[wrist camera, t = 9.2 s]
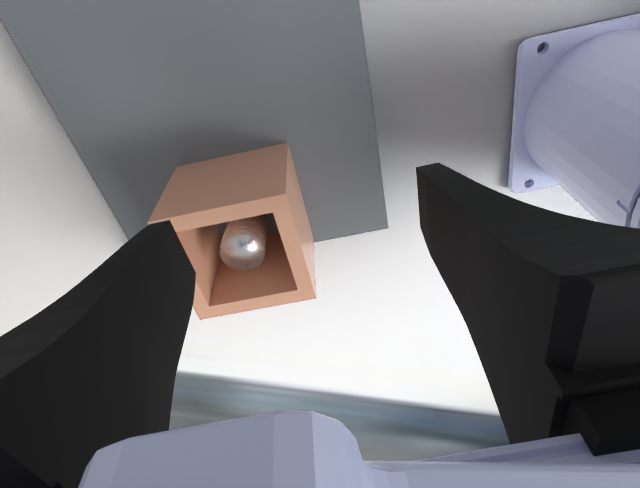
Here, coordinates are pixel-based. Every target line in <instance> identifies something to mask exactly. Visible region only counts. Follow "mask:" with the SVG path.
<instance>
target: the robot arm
mask: <svg viewBox="0 0 640 488" xmlns="http://www.w3.org/2000/svg"><path fill="white" fill-rule="evenodd" d="M543 42H545V47H544V49H543V50H542V51H541V52H539V53H537V49H538V46H539V45H540V44H541V43H543ZM416 172H417V186H418V200H419V213H420V227H421V230H422V233H423V236H424V239H425V242H426V244H427V247H428V250H429V252H430V255H431V257H432V259H433V261H434V263H435V265H436V267H437V268H438V270H439V272H440V274H441V276H442V278H443V280H444V282H445V284H446V285H447V287H448V289H449V291H450V293H451V295H452V297H453V299H454V300H455V302H456V304H457V306H458V308H459V310H460V312H461V314H462V316H463V318H464V320H465V322H466V324H467V327H468V329H469V332H470V334H471V337H472V340H473V342H474V345H475V347H476V350H477V352H478V355H479V357H480V360H481V363H482V366H483V368H484V371H485V374H486V376H487V379H488V382H489V384H490V387H491V390H492V393H493V396H494V398H495V401H496V404H497V407H498V410H499V413H500V415H501V418H502V421H503V424H504V427H505V430H506V433H507V436H508V439H509V442H510V445H505V446H499V447H493V448H487V449H481V450H475V451H469V452H463V453H457V454H451V455H445V456H439V457H433V458H427V459H421V460H415V461H363V459H362V457H361V454H360V450H359V447H358V443H357V440H356V438H355V437H354V436H353V435H352V433H351V432H350V431H349V430H348V429H347V428H346V427H345V425H344V424H343V423H342V422H340V421H338V420H337V419H334V418H331V417H328V416H325V415H322V414H319V413H316V412H312V411H309V410H308V411H275V412H270V413H264V414H258V415H253V416H247V417H242V418H236V419H230V420H225V421H219V422H214V423H208V424H202V425H197V426H191V427H186V428H180V429H174V430H169V422H170V412H171V404H172V396H173V389H174V381H175V376H176V371H177V366H178V362H179V358H180V354H181V350H182V347H183V343H184V339H185V335H186V331H187V327H188V323H189V319H190V315H191V311H192V306H193V302H194V293H195V281H196V272H195V270H194V268H193V266H192V264H191V262H190V260H189V258H188V256H187V254H186V252H185V250H184V248H183V246H182V244H181V242H180V240H179V238H178V236H177V234H176V232H175V230H174V228H173V226H172V224H171V222H170V220H167V221H162V222H157V223H153V224H149V225H148V226H146V227H145V228H143V229H142V230H141V231H139V232H138V233H137V234H136V235H135V236H133V237H132V238H131V239H130V240H129V241H128V242H126V243H125V244H124V245H123V246H122V247H121V248H120V249H119V250H117V251H116V252H115V253H114V254H113V255H112V256H111V257H109V258H108V259H107V260H106V261H105V262H104V263H103V264H101V265H100V266H99V267H98V268H97V269H96V270H94V271H93V272H92V273H91V274H89V275H88V276H87V277H86V278H85V279H83V280H82V281H81V282H80V283H79V284H77V285H76V286H75V287H74V288H72V289H71V290H70V291H69V292H67V293H66V294H65V295H63V296H62V297H61V298H59V299H58V300H56V301H55V302H54V303H52V304H51V305H49V306H48V307H46V308H45V309H44V310H42V311H41V312H39V313H38V314H36V315H35V316H33V317H32V318H30V319H28V320H27V321H25V322H24V323H22V324H20V325H19V326H17V327H15V328H14V329H12V330H10V331H9V332H7V333H5V334H4V335H2V336H1V337H0V488H640V13H638V14H633V15H629V16H625V17H620V18H616V19H611V20H607V21H602V22H598V23H593V24H589V25H584V26H580V27H575V28H571V29H566V30H562V31H557V32H553V33H548V34H544V35H539V36H535V37H530V38H528V39H525V40H524V41H523V42H522V43H521V44H520V46H519V47H518V51H517V64H516V78H515V92H514V107H513V121H512V136H511V150H510V164H509V179H508V187H509V188H510V189H511V191H512V192H514V193H521V192H526V191H531V190H537V189H542V188H547V187H552V186H557V185H560V186H561V187H562V188H563V189H564V190H565V191H566V192H567V193H568V194H569V195H570V196H572V197H573V198H574V199H575V200H576V201H577V202H578V203H579V204H580V205H581V206H582V207H583V208H584V209H585V210H586V211H588V212H589V213H590V214H591V215H592V216H593V217H594V218H595V219H596V220H597V221H598V222H595V221H590V220H586V219H581V218H577V217H572V216H568V215H564V214H560V213H556V212H553V211H549V210H546V209H543V208H540V207H536V206H533V205H530V204H527V203H524V202H522V201H519V200H516V199H514V198H511V197H509V196H506V195H504V194H501V193H499V192H497V191H495V190H492V189H490V188H488V187H486V186H484V185H482V184H480V183H477V182H475V181H473V180H471V179H470V178H468V177H466V176H464V175H462V174H460V173H458V172H456V171H454V170H452V169H450V168H448V167H446V166H444V165H442V164H440V163H434V164H430V165H425V166H420V167H416ZM529 179H531V181H530V182H529V183H528V184H526V185H524V184H525V182H526V181H527V180H529Z"/></svg>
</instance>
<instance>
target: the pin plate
mask: <svg viewBox="0 0 640 488" xmlns="http://www.w3.org/2000/svg"><path fill="white" fill-rule="evenodd" d="M0 20H1V22H2V23H3V25H4V27H5V28H6V30H7V32H8V33H9V35H10V37H11V39H12V40H13V42H14V44H15V45H16V47H17V49H18V51H19V52H20V54H21V56H22V57H23V59H24V61H25V63H26V64H27V66H28V68H29V69H30V71H31V73H32V75H33V76H34V78H35V80H36V81H37V83H38V85H39V87H40V88H41V90H42V92H43V93H44V95H45V97H46V99H47V100H48V102H49V104H50V105H51V107H52V109H53V111H54V112H55V114H56V116H57V117H58V119H59V121H60V123H61V124H62V126H63V128H64V129H65V131H66V133H67V135H68V136H69V138H70V140H71V141H72V143H73V145H74V147H75V148H76V150H77V152H78V153H79V155H80V157H81V159H82V160H83V162H84V164H85V165H86V167H87V169H88V171H89V172H90V174H91V176H92V177H93V179H94V181H95V183H96V184H97V186H98V188H99V189H100V191H101V193H102V195H103V196H104V198H105V200H106V201H107V203H108V205H109V207H110V208H111V210H112V212H113V213H114V215H115V217H116V219H117V220H118V222H119V224H120V225H121V227H122V229H123V231H124V232H125V234H126V236H127V237H128V239H129V240H130V239H131V238H132V237H133V236H135V235H136V234H137V233H138V232H139V231H141V230H142V229H143V228H145V227H146V226H148V223H147V222H148V220H149V218H150V216H151V214H152V213H153V211H154V209H155V207H156V205H157V203H158V201H159V199H160V197H161V195H162V194H163V192H164V190H165V188H166V186H167V184H168V182H169V180H170V178H171V176H172V175H173V173H174V171H175V169H176V167H178V166H182V165H187V164H191V163H196V162H201V161H205V160H210V159H214V158H219V157H224V156H228V155H233V154H237V153H242V152H247V151H251V150H256V149H260V148H265V147H270V146H274V145H279V144H283V143H288V145H289V149H290V152H291V156H292V160H293V164H294V167H295V171H296V175H297V179H298V182H299V186H300V190H301V193H302V197H303V201H304V205H305V208H306V212H307V216H308V220H309V223H310V227H311V231H312V235H313V242H319V241H324V240H329V239H334V238H339V237H345V236H350V235H355V234H360V233H365V232H371V231H376V230H381V229H386V228H388V222H387V214H386V206H385V199H384V191H383V183H382V176H381V168H380V160H379V152H378V145H377V137H376V129H375V122H374V114H373V106H372V98H371V91H370V83H369V75H368V68H367V60H366V52H365V45H364V37H363V29H362V21H361V14H360V6H359V0H0ZM216 225H217V228H218V230H219V232H220V235H221V237H222V242H221V246H220V257H221V259H222V260H223V262H224V263H225V264H226V265H228V266H229V267H231V268H233V269H236V270H251V269H254V268H256V267H257V266H259V265H260V264H261V263H262V261H263V259H264V256H265V246H266V236H267V234H272V233H277V232H279V230H278V227H277V224H276V221H275V218H274V214H273V213H268V214H263V215H258V216H254V217H249V218H244V219H239V220H234V221H229V222H224V223H219V224H216Z"/></svg>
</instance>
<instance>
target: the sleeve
mask: <svg viewBox="0 0 640 488" xmlns="http://www.w3.org/2000/svg"><path fill="white" fill-rule="evenodd" d="M268 213H273V214H274V218H275V221H276V224H277V227H278V230H279V232H277V233H272V234H267V236H266V246H265V256H264V259H263V261H262V263H261V264H260V265H259V266H257V267H256V268H254V269H251V270H236V269H233V268H231V267H229V266H228V265H226V264H225V263H224V262H223V260H222V259H221V257H220V246H221V242H222V237H221V235H220V232H219V230H218V228H217V225H216V224H219V223H224V222H229V221H234V220H239V219H244V218H249V217H254V216H258V215H263V214H268ZM167 220H170V222H171V224H172V226H173V228H174V230H175V232H176V234H177V236H178V238H179V240H180V242H181V244H182V246H183V248H184V250H185V252H186V254H187V256H188V258H189V260H190V262H191V264H192V266H193V268H194V270H195V272H196V281H195V293H194V302H193V308H194V310H195V311H196V313H197V315H198V317H199V319H200V320H201V319H206V318H212V317H217V316H223V315H228V314H234V313H239V312H244V311H250V310H255V309H261V308H266V307H271V306H277V305H282V304H288V303H293V302H299V301H304V300H309V299H315V298H316V283H315V265H314V247H313V235H312V231H311V227H310V223H309V220H308V216H307V212H306V208H305V205H304V201H303V197H302V193H301V190H300V186H299V182H298V179H297V175H296V171H295V167H294V164H293V160H292V156H291V152H290V149H289V145H288V143H283V144H279V145H274V146H270V147H265V148H260V149H256V150H251V151H247V152H242V153H237V154H233V155H228V156H224V157H219V158H214V159H210V160H205V161H201V162H196V163H191V164H187V165H182V166H178V167H176V169H175V171H174V173H173V175H172V176H171V178H170V180H169V182H168V184H167V186H166V188H165V190H164V192H163V194H162V195H161V197H160V199H159V201H158V203H157V205H156V207H155V209H154V211H153V213H152V214H151V216H150V218H149V220H148V222H147V223H148V225H149V224H153V223H157V222H162V221H167Z"/></svg>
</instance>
